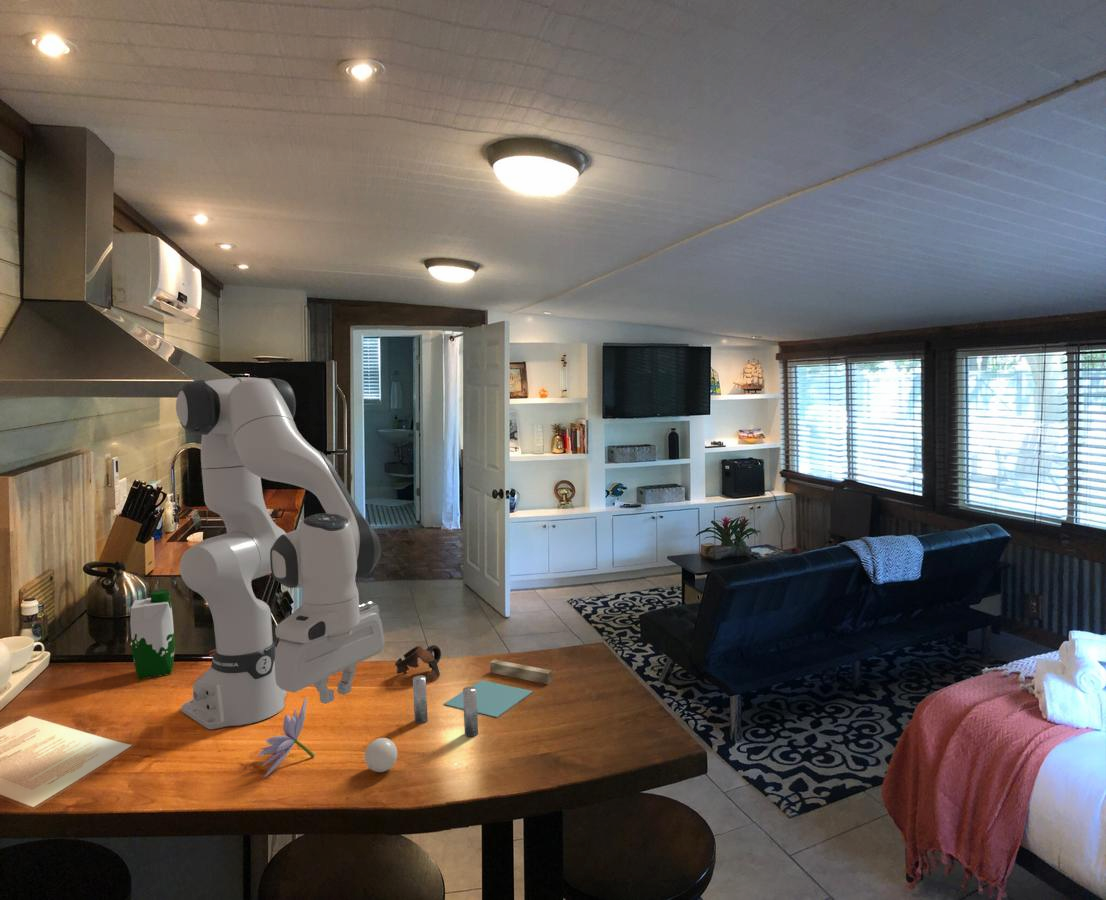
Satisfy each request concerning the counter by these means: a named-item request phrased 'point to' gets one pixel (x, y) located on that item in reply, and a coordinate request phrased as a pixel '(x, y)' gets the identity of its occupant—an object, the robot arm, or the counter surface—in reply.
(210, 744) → the counter surface
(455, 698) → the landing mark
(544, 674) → the stopper strip
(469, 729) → the post
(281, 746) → the water lily
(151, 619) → the milk carton
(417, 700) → the post
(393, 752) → the ball
